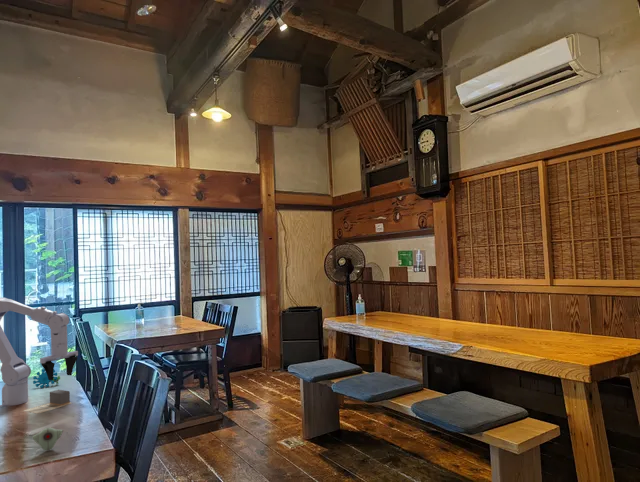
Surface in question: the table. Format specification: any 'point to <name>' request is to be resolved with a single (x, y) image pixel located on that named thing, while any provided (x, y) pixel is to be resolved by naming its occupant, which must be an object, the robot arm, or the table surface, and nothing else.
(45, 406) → the plank
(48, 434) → the robot head
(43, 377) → the gear
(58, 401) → the block
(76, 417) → the table surface
